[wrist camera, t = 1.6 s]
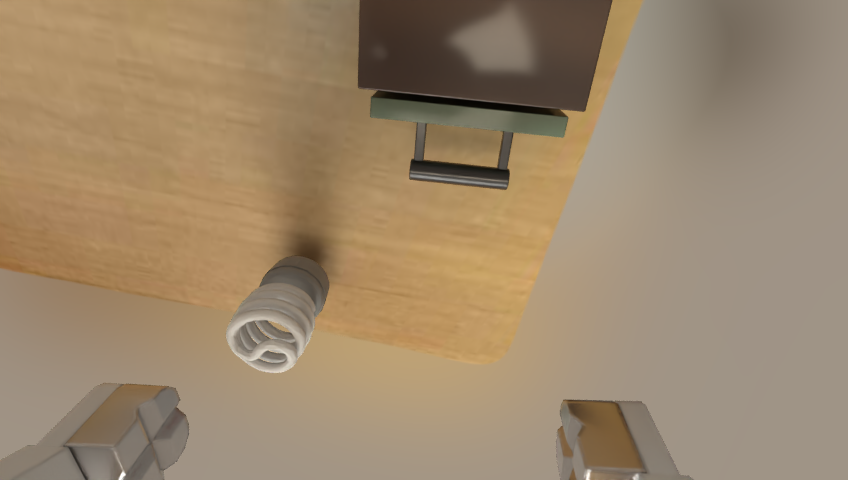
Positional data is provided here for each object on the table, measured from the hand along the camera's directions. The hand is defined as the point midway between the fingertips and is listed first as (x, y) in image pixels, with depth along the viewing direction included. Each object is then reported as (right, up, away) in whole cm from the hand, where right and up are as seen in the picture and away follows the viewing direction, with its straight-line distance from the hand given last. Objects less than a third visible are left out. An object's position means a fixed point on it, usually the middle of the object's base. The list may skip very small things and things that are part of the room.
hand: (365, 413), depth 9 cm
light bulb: (-9, +1, +32) cm, 33 cm away
